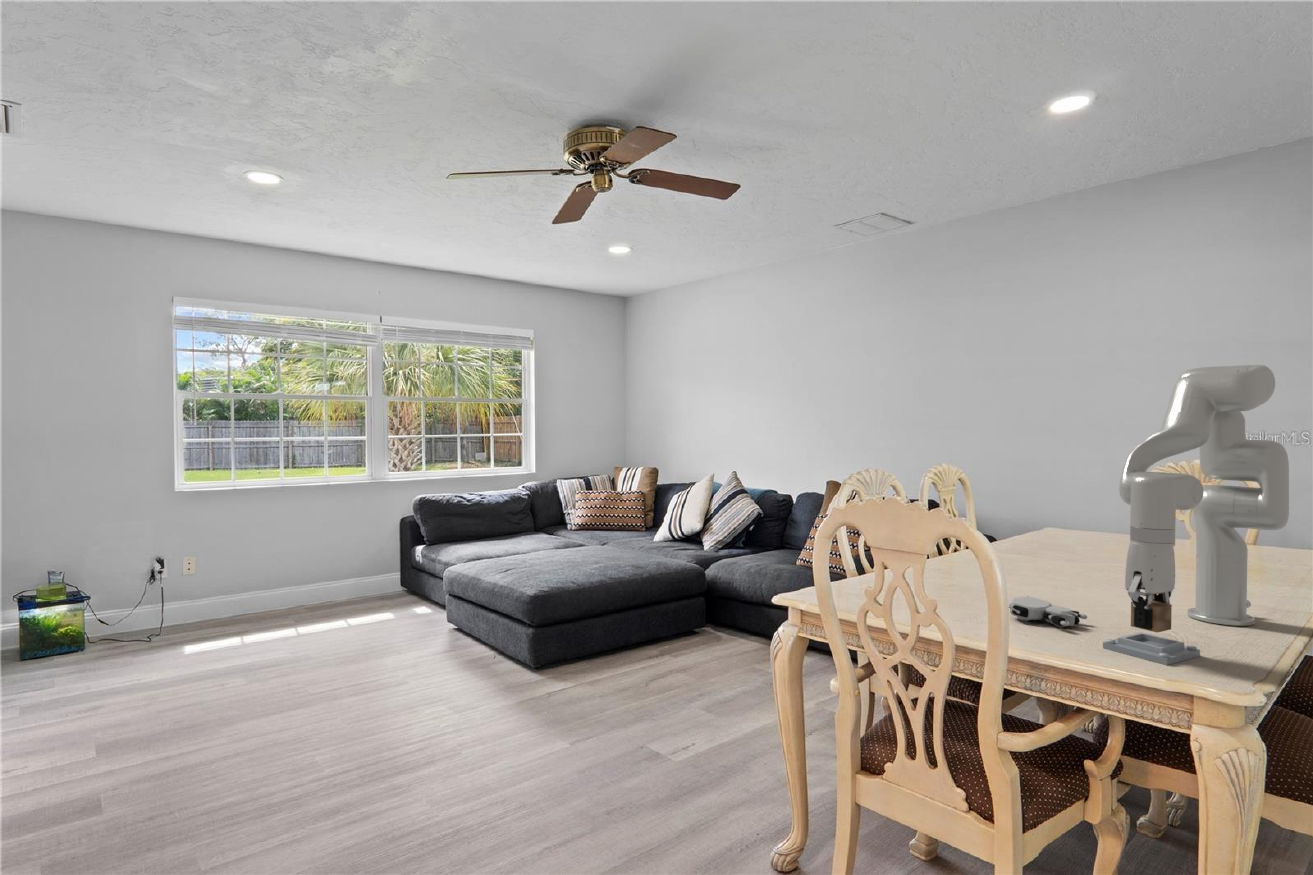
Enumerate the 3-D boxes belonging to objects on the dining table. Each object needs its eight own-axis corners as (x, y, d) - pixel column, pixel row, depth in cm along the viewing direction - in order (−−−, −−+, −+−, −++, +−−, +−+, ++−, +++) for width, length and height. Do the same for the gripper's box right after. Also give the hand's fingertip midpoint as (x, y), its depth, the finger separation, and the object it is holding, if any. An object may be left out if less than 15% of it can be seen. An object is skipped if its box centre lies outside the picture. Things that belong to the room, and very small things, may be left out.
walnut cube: (1144, 623, 149) (1144, 599, 149) (1171, 629, 145) (1171, 604, 145) (1130, 626, 147) (1131, 601, 147) (1157, 632, 142) (1157, 607, 142)
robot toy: (1089, 628, 166) (1023, 610, 178) (1091, 609, 166) (1025, 592, 177) (1066, 638, 158) (998, 618, 170) (1068, 618, 158) (1000, 599, 170)
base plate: (1136, 639, 154) (1136, 628, 154) (1199, 655, 143) (1200, 643, 143) (1102, 647, 148) (1103, 636, 148) (1166, 665, 138) (1167, 652, 138)
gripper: (1155, 531, 153) (1154, 616, 153) (1108, 536, 145) (1107, 626, 145) (1195, 536, 146) (1194, 625, 146) (1148, 542, 138) (1147, 636, 138)
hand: (1150, 625), depth 146 cm, fingers closed on walnut cube, 5 cm apart
